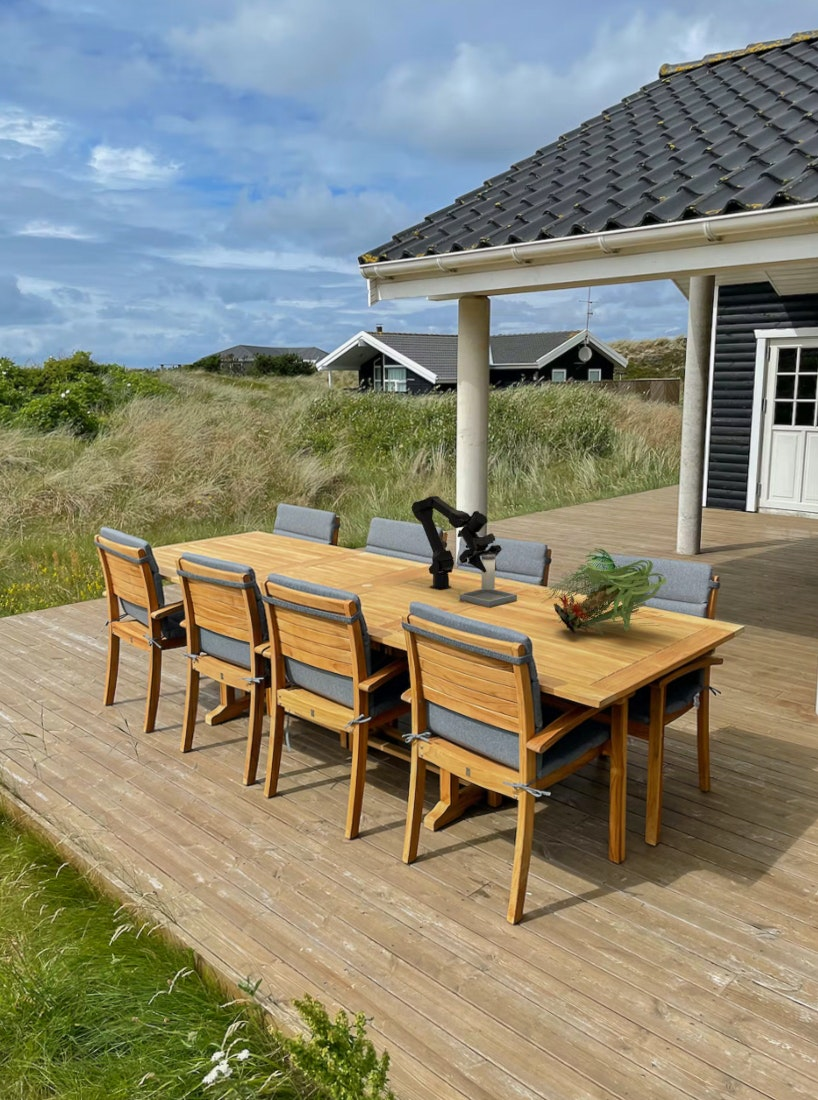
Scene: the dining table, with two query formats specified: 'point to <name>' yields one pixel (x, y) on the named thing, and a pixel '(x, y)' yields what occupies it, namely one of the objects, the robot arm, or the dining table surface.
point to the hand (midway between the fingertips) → (490, 571)
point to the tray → (488, 597)
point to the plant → (605, 593)
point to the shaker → (488, 571)
